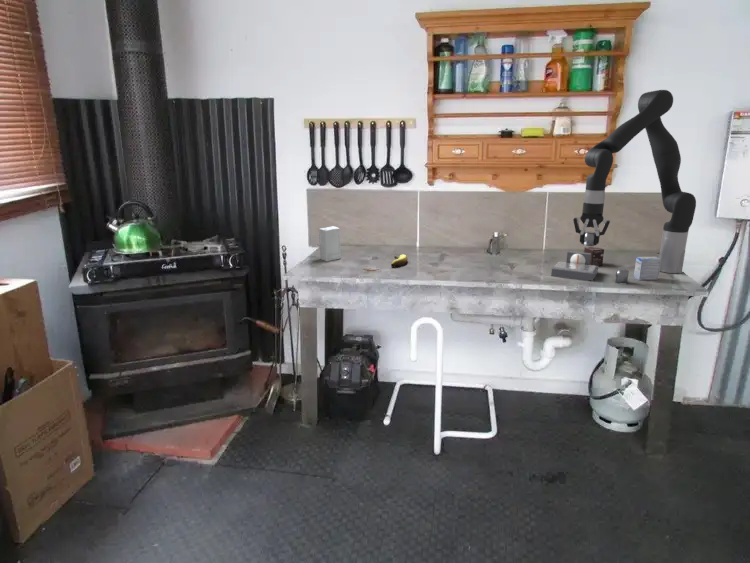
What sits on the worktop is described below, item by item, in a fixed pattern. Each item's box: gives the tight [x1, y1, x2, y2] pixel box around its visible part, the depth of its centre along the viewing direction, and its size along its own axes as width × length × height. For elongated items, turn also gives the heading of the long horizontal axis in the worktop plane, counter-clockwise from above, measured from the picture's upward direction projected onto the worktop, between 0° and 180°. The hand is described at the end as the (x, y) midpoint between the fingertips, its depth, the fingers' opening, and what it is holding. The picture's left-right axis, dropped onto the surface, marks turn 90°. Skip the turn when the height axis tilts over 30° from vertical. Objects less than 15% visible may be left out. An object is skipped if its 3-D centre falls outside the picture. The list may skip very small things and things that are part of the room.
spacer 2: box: [614, 268, 630, 284], centre depth 207 cm, size 4×4×5 cm
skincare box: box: [318, 225, 342, 262], centre depth 243 cm, size 8×6×15 cm
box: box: [583, 246, 605, 267], centre depth 233 cm, size 6×6×7 cm
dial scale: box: [550, 250, 599, 282], centre depth 217 cm, size 16×14×8 cm
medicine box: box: [633, 256, 661, 281], centre depth 211 cm, size 8×4×9 cm, turn 92°
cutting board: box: [363, 254, 427, 272], centre depth 238 cm, size 35×27×4 cm
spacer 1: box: [582, 231, 596, 247], centre depth 210 cm, size 4×4×5 cm
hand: (588, 244), depth 210 cm, fingers closed on spacer 1, 4 cm apart
